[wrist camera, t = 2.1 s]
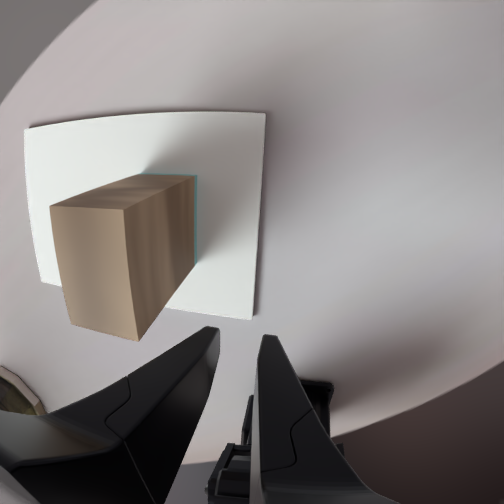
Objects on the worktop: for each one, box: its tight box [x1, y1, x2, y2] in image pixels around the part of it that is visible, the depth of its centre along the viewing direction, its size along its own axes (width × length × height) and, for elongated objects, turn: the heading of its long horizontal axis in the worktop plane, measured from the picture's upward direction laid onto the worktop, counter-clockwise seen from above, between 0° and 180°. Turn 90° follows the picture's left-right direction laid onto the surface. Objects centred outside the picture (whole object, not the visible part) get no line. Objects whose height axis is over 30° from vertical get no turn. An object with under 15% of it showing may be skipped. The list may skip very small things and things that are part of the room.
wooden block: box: [49, 173, 197, 342], centre depth 16 cm, size 4×6×9 cm, turn 177°
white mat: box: [24, 112, 266, 320], centre depth 21 cm, size 20×14×1 cm
